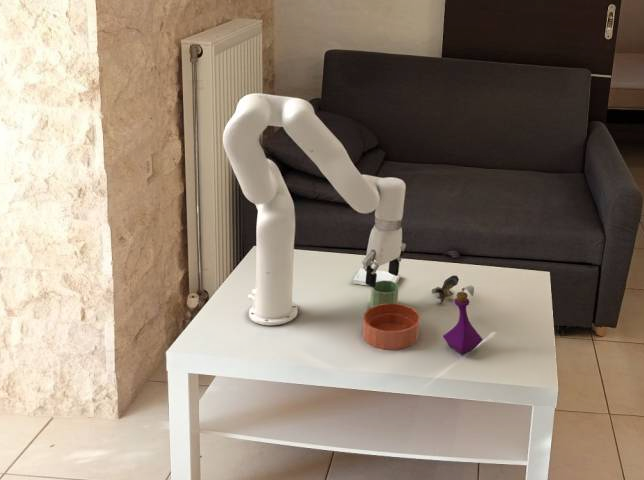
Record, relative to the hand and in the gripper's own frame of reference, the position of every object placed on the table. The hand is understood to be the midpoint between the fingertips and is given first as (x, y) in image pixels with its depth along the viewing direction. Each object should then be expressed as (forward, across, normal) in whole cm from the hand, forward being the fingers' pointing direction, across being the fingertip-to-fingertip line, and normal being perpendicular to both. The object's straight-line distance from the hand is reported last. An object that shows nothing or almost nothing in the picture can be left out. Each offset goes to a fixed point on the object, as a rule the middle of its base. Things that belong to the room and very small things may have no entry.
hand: (381, 279), depth 204 cm
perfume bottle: (+8, +2, +30) cm, 31 cm away
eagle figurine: (+8, -17, +11) cm, 22 cm away
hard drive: (+9, -12, -11) cm, 19 cm away
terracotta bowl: (+9, +9, +12) cm, 17 cm away
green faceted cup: (+9, -1, +1) cm, 9 cm away
